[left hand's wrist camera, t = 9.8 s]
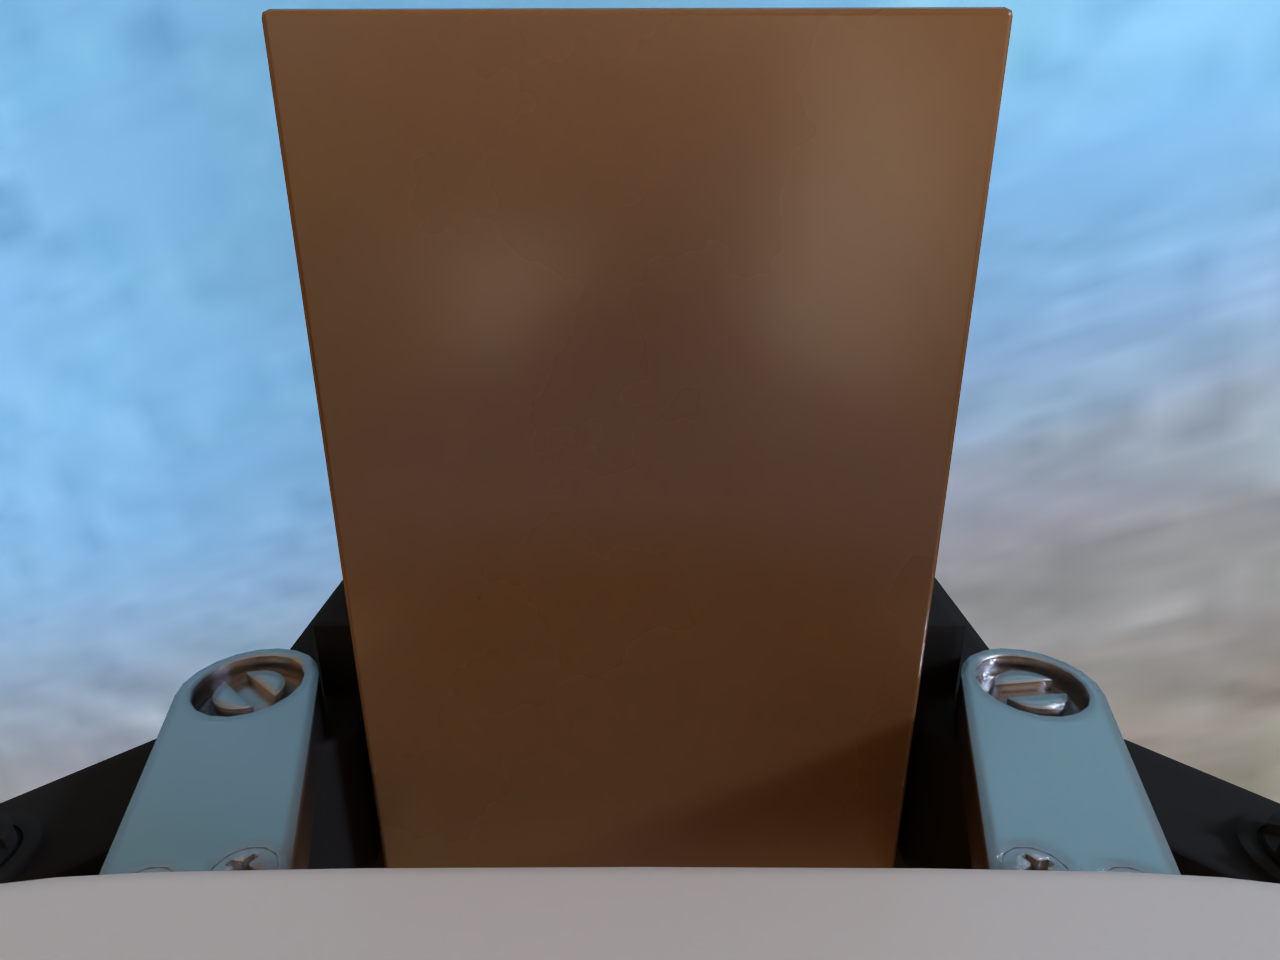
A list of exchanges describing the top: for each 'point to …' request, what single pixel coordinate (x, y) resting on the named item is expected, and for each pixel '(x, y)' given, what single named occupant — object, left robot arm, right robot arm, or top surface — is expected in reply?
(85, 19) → the top surface
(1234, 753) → the top surface
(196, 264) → the top surface
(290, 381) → the top surface
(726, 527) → the bar
